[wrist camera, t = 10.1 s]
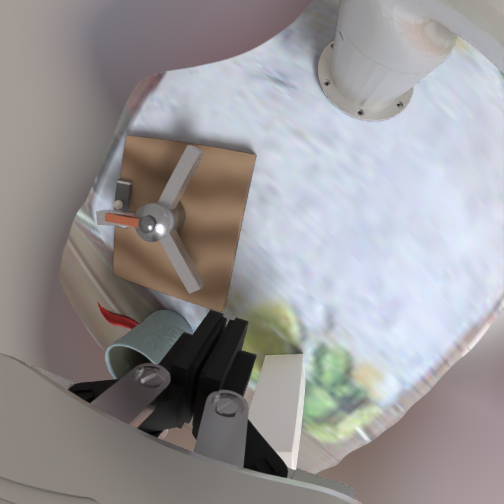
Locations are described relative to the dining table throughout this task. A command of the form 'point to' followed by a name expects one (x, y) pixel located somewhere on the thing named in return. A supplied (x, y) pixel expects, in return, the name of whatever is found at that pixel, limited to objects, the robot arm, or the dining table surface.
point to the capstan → (165, 219)
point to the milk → (280, 404)
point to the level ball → (118, 204)
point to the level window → (124, 194)
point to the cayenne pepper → (118, 319)
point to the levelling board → (196, 222)
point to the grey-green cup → (146, 342)
